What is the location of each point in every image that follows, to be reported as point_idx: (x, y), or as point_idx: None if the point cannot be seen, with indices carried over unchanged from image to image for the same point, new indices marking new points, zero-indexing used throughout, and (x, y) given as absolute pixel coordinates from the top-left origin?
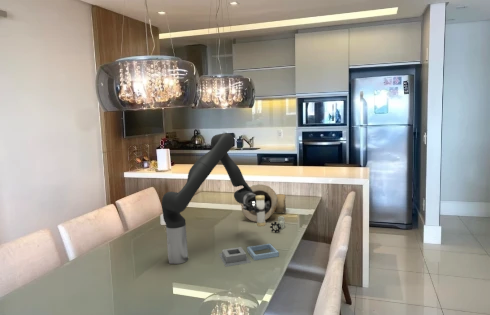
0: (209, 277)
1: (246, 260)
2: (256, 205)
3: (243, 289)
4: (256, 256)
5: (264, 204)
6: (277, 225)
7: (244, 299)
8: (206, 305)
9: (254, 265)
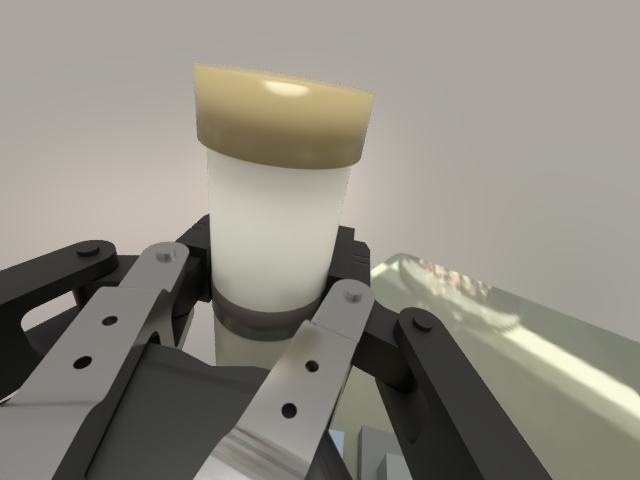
0: (544, 431)
1: (378, 466)
2: (332, 250)
3: None
4: (330, 431)
5: (175, 250)
6: None
7: (424, 282)
8: (507, 302)
9: (345, 428)
